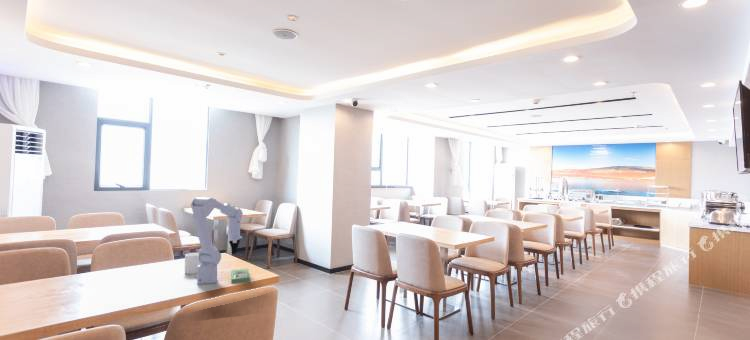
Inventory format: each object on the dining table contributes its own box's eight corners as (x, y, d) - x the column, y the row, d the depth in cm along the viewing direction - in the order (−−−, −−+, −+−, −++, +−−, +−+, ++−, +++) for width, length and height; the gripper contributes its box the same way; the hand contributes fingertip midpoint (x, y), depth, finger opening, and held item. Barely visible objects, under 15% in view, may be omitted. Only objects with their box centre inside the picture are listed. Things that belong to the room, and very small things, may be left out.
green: (231, 283, 190) (231, 279, 190) (231, 273, 207) (231, 269, 207) (249, 281, 194) (249, 277, 194) (248, 272, 211) (248, 268, 211)
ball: (246, 273, 196) (244, 272, 199) (239, 273, 194) (237, 273, 197) (245, 280, 195) (244, 279, 198) (238, 280, 193) (237, 280, 196)
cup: (187, 275, 202) (187, 256, 202) (181, 270, 211) (181, 252, 211) (203, 272, 208) (203, 254, 208) (196, 268, 217) (196, 250, 217)
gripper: (242, 231, 206) (242, 255, 206) (241, 226, 219) (241, 250, 219) (228, 231, 203) (228, 256, 203) (228, 227, 217) (228, 250, 217)
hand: (234, 253), depth 211 cm, fingers closed
